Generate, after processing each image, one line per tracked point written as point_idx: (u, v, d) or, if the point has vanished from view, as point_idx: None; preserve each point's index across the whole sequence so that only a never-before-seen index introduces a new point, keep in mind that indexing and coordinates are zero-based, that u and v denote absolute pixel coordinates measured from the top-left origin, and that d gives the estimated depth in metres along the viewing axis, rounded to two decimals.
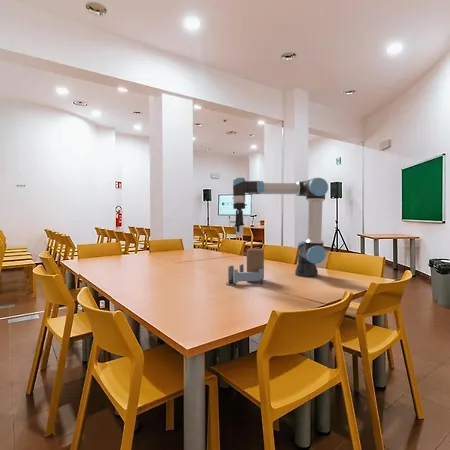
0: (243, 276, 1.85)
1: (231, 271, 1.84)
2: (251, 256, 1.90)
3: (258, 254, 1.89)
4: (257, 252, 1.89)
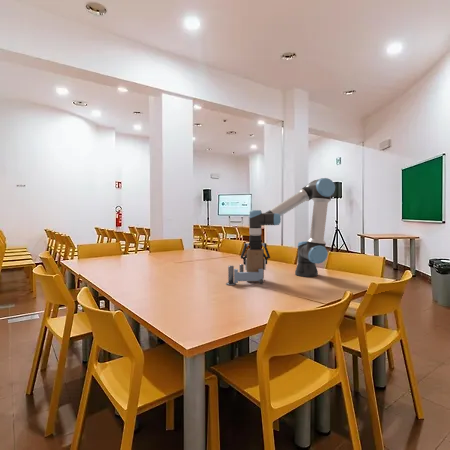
0: (243, 276, 1.85)
1: (231, 271, 1.84)
2: (251, 256, 1.90)
3: (258, 254, 1.89)
4: (257, 252, 1.89)
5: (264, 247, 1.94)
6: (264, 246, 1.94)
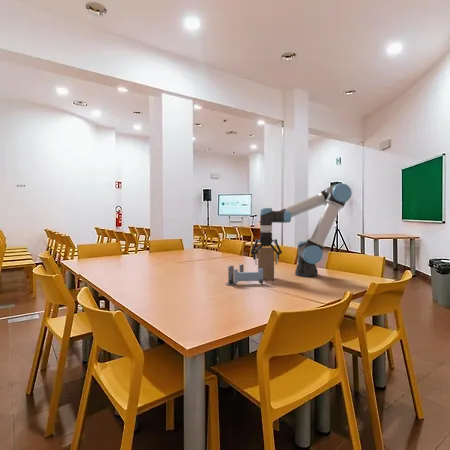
0: (243, 276, 1.85)
1: (231, 271, 1.84)
2: (263, 254, 1.96)
3: (270, 253, 1.95)
4: (268, 251, 1.95)
5: (275, 243, 2.01)
6: (275, 242, 2.00)
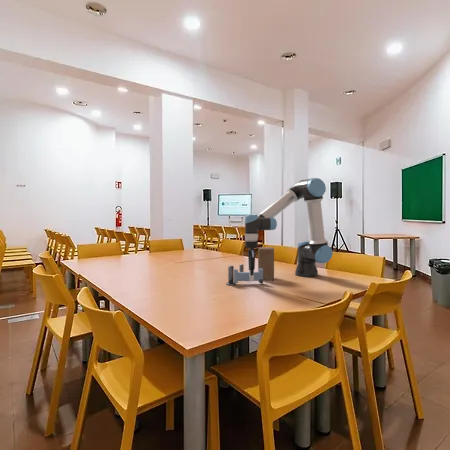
0: (243, 276, 1.85)
1: (231, 271, 1.84)
2: (263, 254, 1.96)
3: (270, 253, 1.95)
4: (268, 251, 1.95)
5: None
6: None
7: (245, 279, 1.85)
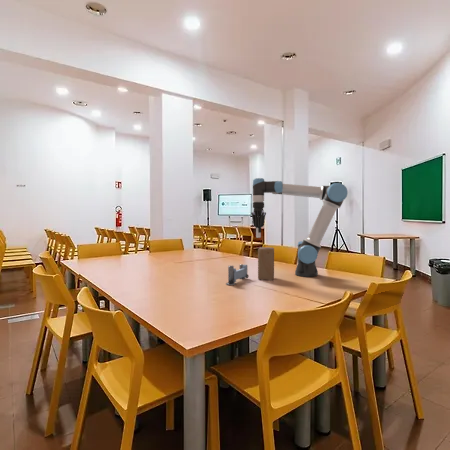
0: (238, 274, 1.92)
1: (231, 271, 1.84)
2: (263, 254, 1.96)
3: (270, 253, 1.95)
4: (268, 251, 1.95)
5: None
6: (262, 214, 2.01)
7: (239, 276, 1.93)
